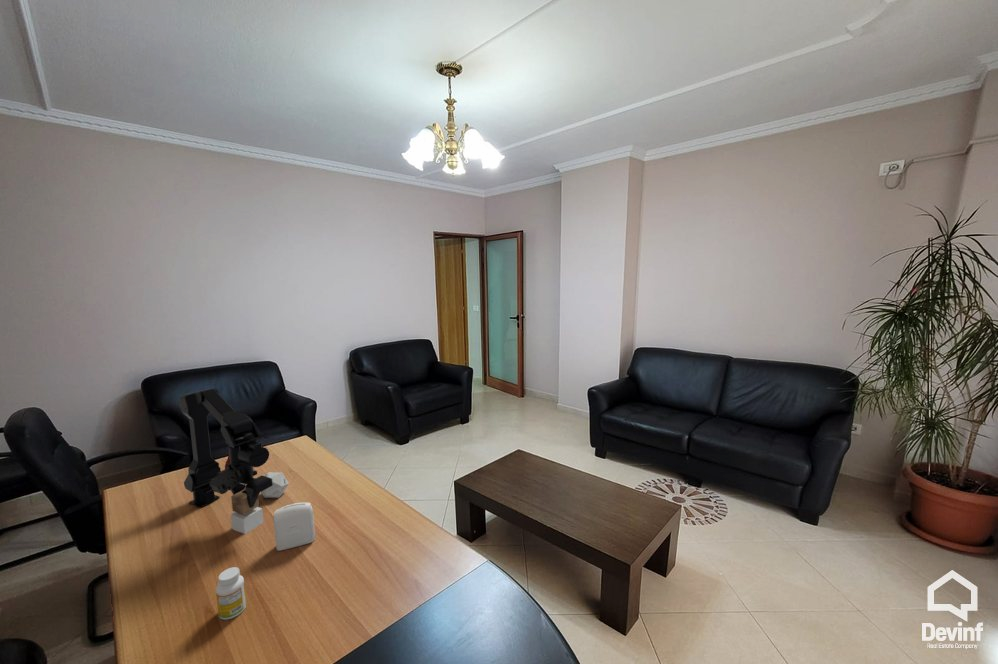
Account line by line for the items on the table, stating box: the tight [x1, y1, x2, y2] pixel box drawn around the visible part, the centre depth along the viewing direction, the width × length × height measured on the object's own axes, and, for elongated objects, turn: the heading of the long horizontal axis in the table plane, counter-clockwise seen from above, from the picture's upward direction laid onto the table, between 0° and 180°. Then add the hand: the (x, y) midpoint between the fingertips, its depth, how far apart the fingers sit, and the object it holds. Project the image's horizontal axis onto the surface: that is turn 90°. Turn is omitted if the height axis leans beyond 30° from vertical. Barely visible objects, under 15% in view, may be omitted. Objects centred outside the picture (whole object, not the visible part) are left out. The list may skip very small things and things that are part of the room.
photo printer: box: [273, 502, 316, 552], centre depth 111 cm, size 10×4×12 cm, turn 114°
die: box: [260, 471, 290, 499], centre depth 136 cm, size 8×9×10 cm
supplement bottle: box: [215, 566, 247, 620], centre depth 89 cm, size 5×5×10 cm
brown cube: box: [230, 489, 260, 515], centre depth 118 cm, size 5×5×5 cm
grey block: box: [230, 506, 265, 535], centre depth 119 cm, size 6×6×5 cm
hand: (245, 505), depth 119 cm, fingers closed on brown cube, 5 cm apart
